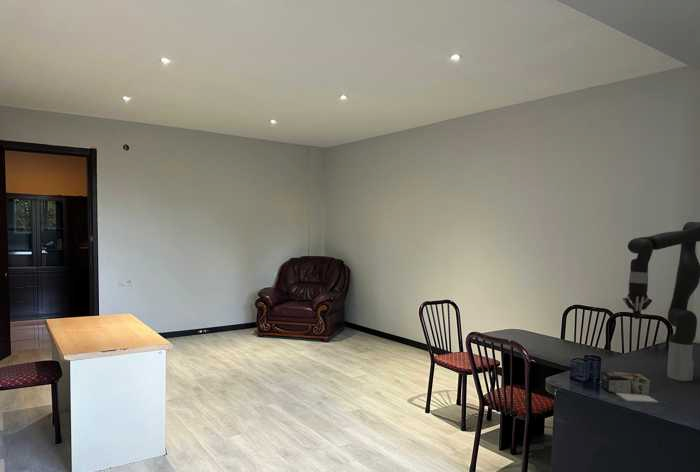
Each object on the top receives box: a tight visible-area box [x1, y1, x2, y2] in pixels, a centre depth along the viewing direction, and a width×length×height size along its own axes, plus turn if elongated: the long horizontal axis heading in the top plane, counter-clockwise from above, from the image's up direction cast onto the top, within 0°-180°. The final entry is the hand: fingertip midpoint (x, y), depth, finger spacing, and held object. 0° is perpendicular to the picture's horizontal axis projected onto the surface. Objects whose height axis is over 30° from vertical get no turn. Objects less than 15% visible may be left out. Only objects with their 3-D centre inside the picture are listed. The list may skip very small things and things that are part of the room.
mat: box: [599, 381, 659, 404], centre depth 206 cm, size 12×22×1 cm, turn 0°
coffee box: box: [600, 370, 651, 396], centre depth 207 cm, size 9×6×16 cm
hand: (636, 318), depth 224 cm, fingers closed
